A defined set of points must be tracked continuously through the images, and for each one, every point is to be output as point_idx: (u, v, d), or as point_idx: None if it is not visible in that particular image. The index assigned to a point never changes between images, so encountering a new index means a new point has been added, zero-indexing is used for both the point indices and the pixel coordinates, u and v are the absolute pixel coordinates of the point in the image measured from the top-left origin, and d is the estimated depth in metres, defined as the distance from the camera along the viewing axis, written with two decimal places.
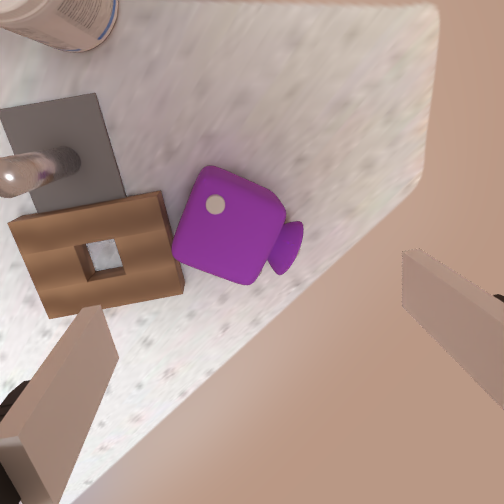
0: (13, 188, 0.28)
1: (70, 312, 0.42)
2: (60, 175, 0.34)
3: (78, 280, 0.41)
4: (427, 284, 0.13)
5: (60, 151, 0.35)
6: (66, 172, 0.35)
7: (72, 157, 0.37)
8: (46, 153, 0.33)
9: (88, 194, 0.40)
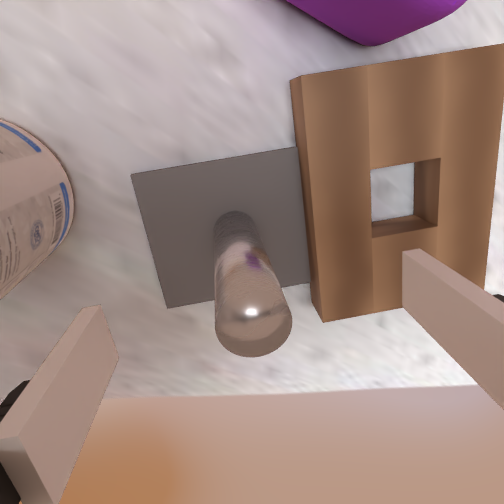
0: (273, 311, 0.14)
1: (482, 259, 0.25)
2: (255, 237, 0.20)
3: (431, 239, 0.24)
4: (427, 284, 0.13)
5: (217, 234, 0.22)
6: (251, 229, 0.21)
7: (228, 219, 0.23)
8: (217, 252, 0.19)
9: (288, 206, 0.25)
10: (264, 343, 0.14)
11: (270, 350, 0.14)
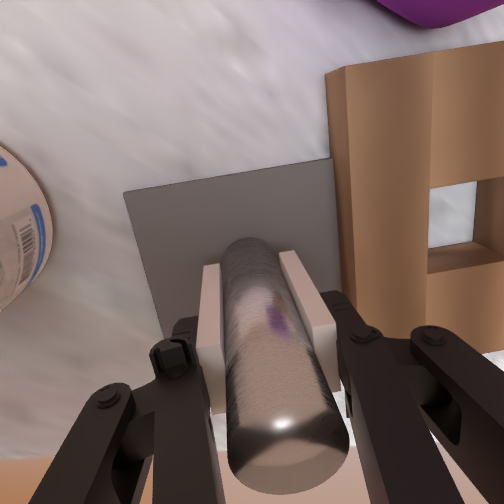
0: (320, 432, 0.08)
1: None
2: (279, 281, 0.15)
3: (502, 275, 0.19)
4: (287, 282, 0.15)
5: (228, 272, 0.17)
6: (272, 267, 0.16)
7: (241, 251, 0.18)
8: (228, 303, 0.14)
9: (319, 231, 0.20)
10: (304, 475, 0.09)
11: (314, 484, 0.09)
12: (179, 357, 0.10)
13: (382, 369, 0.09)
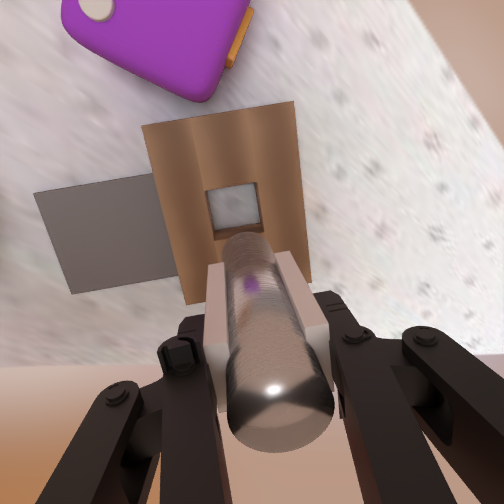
0: (309, 394, 0.10)
1: (305, 257, 0.33)
2: (274, 269, 0.16)
3: None
4: None
5: (227, 262, 0.18)
6: (268, 257, 0.17)
7: (239, 243, 0.19)
8: (227, 290, 0.15)
9: (158, 216, 0.33)
10: (295, 435, 0.10)
11: (303, 443, 0.10)
12: (187, 355, 0.10)
13: (374, 369, 0.09)
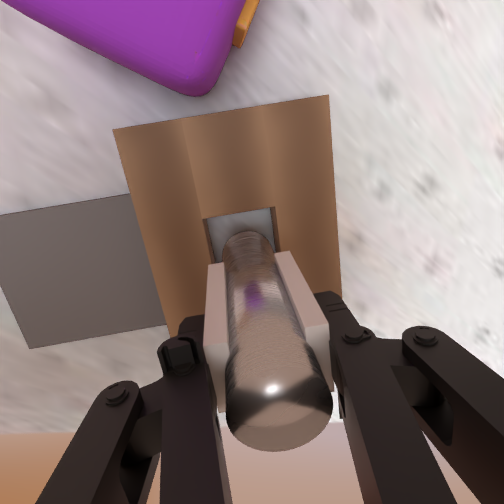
0: (307, 394, 0.10)
1: None
2: (274, 269, 0.16)
3: None
4: None
5: (227, 262, 0.18)
6: (268, 257, 0.17)
7: (240, 243, 0.19)
8: (227, 289, 0.15)
9: (141, 249, 0.24)
10: (293, 433, 0.10)
11: (302, 442, 0.10)
12: (187, 355, 0.10)
13: (374, 370, 0.09)
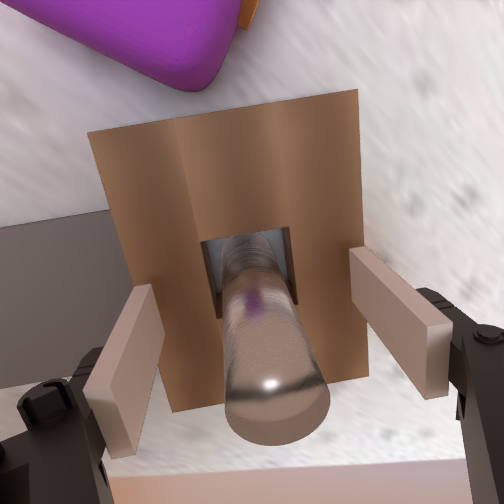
0: (305, 389, 0.10)
1: (361, 340, 0.20)
2: (272, 267, 0.16)
3: None
4: (366, 279, 0.15)
5: (226, 261, 0.18)
6: (266, 256, 0.17)
7: (239, 242, 0.19)
8: (226, 287, 0.15)
9: (127, 275, 0.21)
10: (292, 428, 0.10)
11: (300, 436, 0.10)
12: (55, 402, 0.09)
13: None
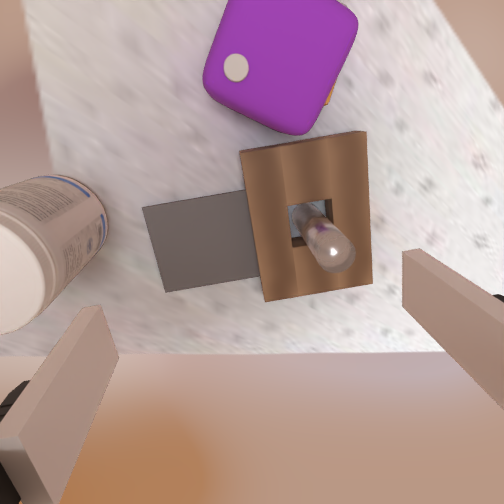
0: (346, 248, 0.28)
1: (368, 262, 0.38)
2: None
3: None
4: (427, 284, 0.13)
5: (299, 216, 0.36)
6: (320, 213, 0.35)
7: (304, 207, 0.37)
8: (304, 225, 0.33)
9: (242, 226, 0.38)
10: (341, 265, 0.28)
11: (344, 269, 0.28)
12: None
13: None
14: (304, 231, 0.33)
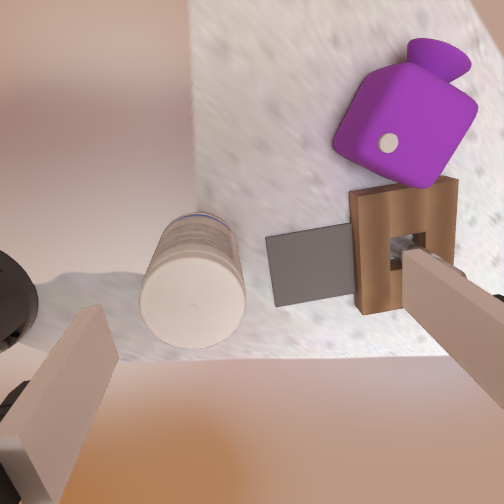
0: None
1: None
2: None
3: None
4: (427, 284, 0.13)
5: (399, 245, 0.43)
6: (417, 243, 0.43)
7: (400, 238, 0.45)
8: None
9: (345, 253, 0.46)
10: None
11: None
12: None
13: None
14: None
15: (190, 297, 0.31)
